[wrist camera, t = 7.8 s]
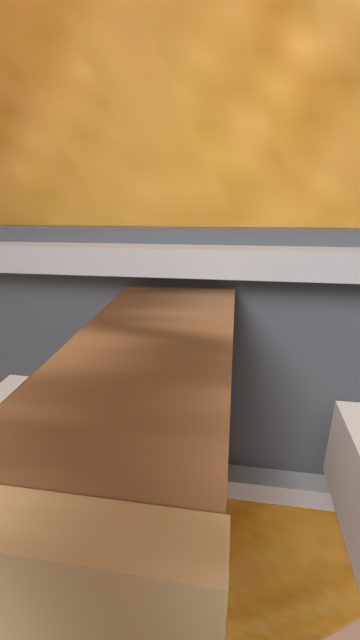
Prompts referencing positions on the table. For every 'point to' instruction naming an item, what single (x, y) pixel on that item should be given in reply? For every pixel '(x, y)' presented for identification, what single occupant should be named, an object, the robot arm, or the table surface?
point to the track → (248, 334)
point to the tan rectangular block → (122, 476)
